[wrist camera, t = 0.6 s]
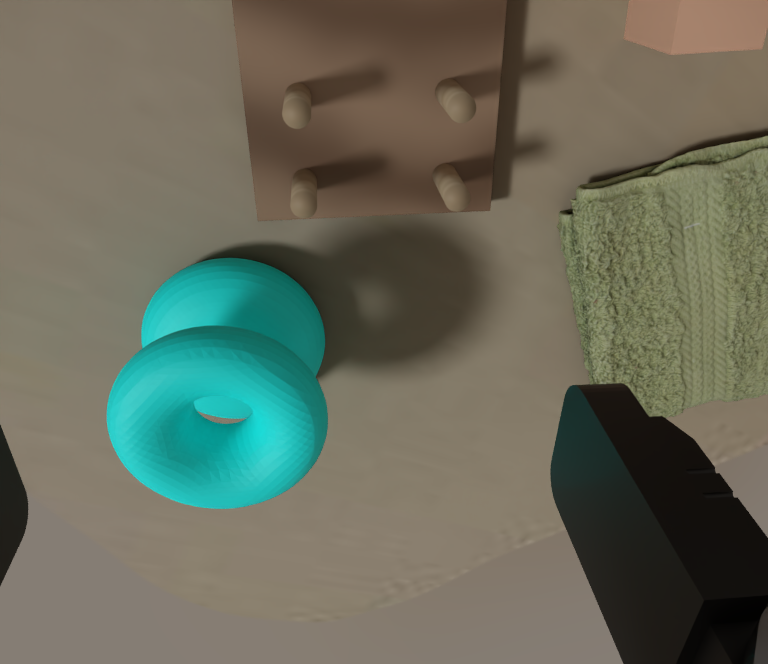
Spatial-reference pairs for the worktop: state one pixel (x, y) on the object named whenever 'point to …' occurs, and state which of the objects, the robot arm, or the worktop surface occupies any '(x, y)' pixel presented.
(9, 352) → the worktop surface
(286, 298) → the donuts
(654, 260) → the washcloth
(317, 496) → the worktop surface
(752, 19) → the pinkish tan rectangular block
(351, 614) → the worktop surface
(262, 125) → the drying rack
